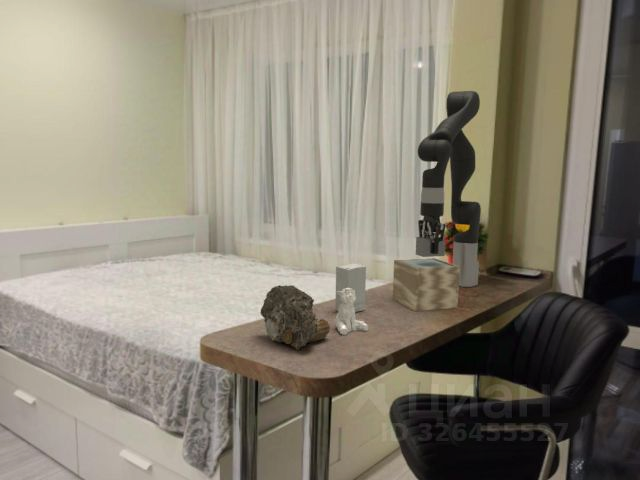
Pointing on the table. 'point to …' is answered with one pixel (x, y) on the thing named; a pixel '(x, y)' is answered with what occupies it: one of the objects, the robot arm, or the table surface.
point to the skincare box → (351, 283)
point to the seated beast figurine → (348, 313)
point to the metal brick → (428, 247)
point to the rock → (292, 317)
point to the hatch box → (426, 286)
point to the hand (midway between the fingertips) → (430, 252)
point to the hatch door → (425, 263)
